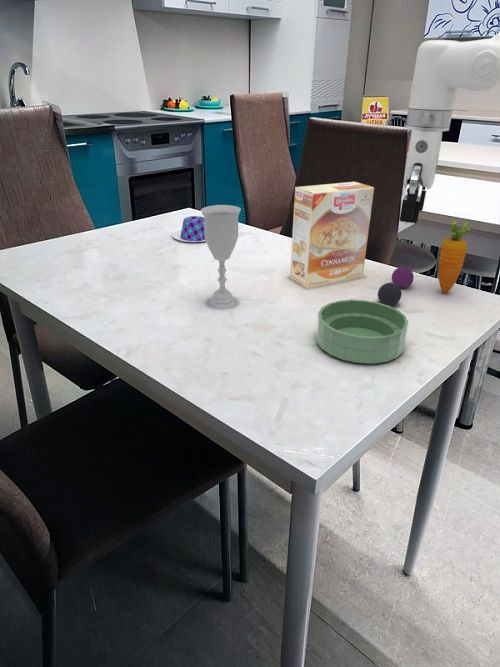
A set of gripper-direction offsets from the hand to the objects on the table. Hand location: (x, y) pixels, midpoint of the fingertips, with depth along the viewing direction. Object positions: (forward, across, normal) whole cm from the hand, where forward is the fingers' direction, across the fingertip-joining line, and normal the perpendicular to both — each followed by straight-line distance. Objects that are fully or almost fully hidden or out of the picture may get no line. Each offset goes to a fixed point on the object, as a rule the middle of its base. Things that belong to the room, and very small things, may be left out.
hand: (411, 215), depth 98 cm
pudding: (+16, +14, +55) cm, 59 cm away
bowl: (+15, -28, +3) cm, 32 cm away
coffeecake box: (+16, 0, +15) cm, 22 cm away
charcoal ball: (+15, -10, +1) cm, 18 cm away
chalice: (+16, -22, +30) cm, 40 cm away
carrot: (+15, +1, -9) cm, 18 cm away
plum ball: (+15, +1, 0) cm, 15 cm away
